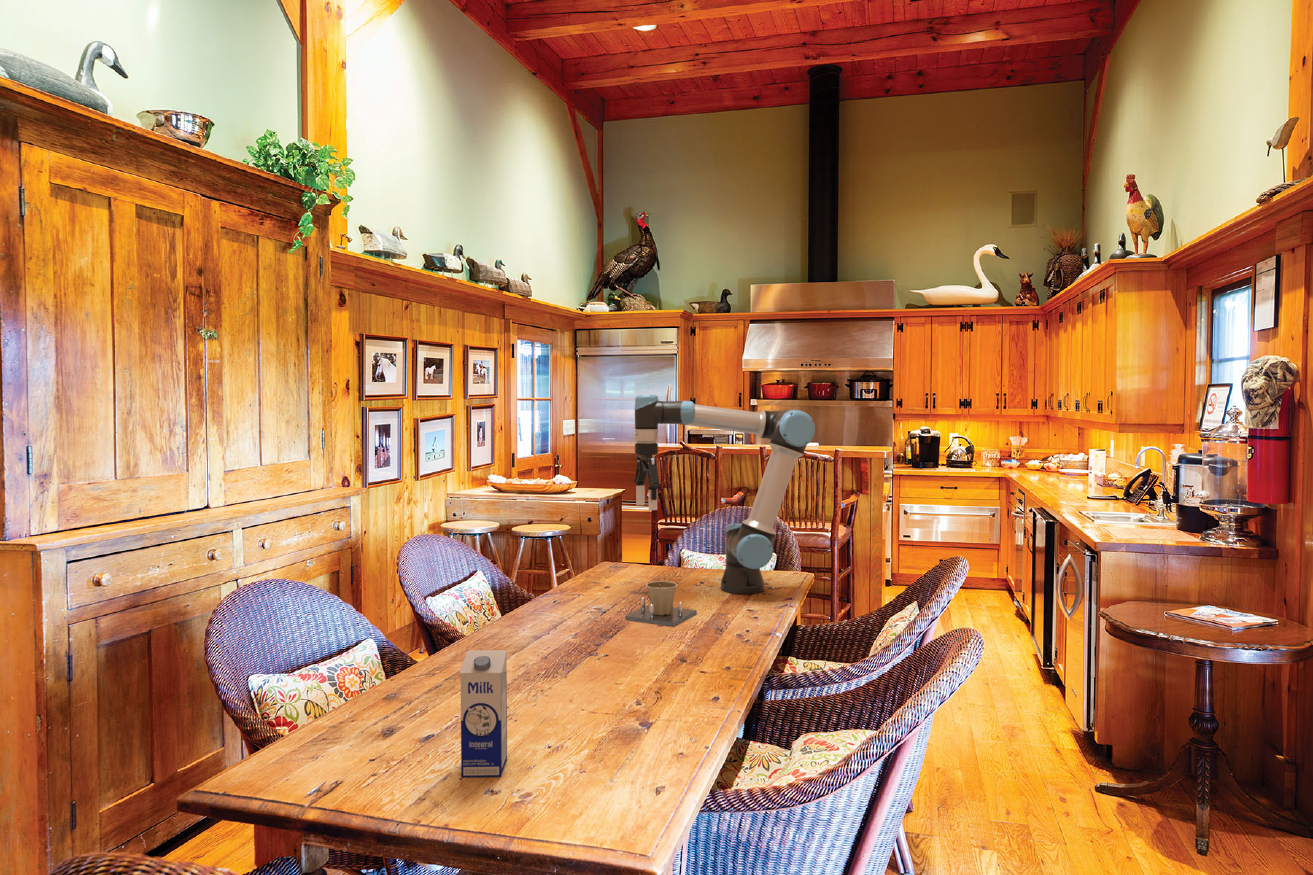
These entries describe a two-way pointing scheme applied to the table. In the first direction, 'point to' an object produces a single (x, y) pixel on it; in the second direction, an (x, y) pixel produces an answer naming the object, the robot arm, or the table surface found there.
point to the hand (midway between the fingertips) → (646, 507)
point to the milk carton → (484, 713)
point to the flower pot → (662, 596)
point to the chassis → (648, 615)
